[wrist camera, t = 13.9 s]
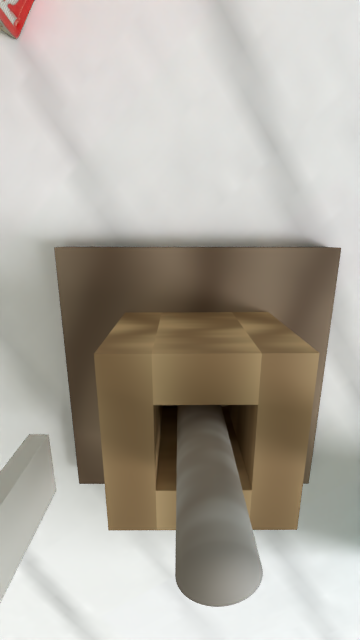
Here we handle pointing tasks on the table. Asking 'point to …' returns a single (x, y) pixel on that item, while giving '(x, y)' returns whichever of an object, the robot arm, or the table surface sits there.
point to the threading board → (183, 292)
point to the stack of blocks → (14, 15)
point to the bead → (203, 389)
